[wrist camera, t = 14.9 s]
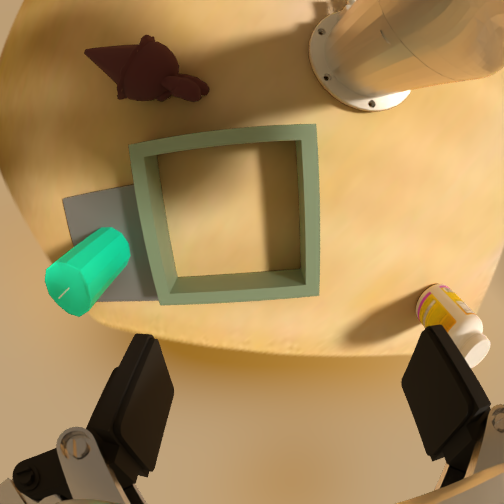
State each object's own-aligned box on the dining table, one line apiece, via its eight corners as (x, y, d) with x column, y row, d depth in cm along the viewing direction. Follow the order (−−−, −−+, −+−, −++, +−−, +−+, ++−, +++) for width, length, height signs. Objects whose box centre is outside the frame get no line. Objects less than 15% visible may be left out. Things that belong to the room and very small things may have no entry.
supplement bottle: (414, 326, 38) (452, 383, 26) (412, 292, 36) (458, 349, 24) (448, 309, 37) (491, 360, 25) (449, 275, 35) (499, 324, 23)
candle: (137, 265, 34) (95, 321, 23) (100, 274, 35) (54, 327, 24) (120, 220, 32) (66, 263, 21) (83, 233, 32) (27, 275, 21)
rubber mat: (64, 198, 31) (62, 199, 31) (136, 184, 31) (135, 184, 30) (92, 300, 37) (91, 301, 36) (160, 298, 36) (159, 300, 36)
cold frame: (142, 143, 29) (128, 145, 25) (308, 125, 28) (316, 124, 24) (168, 288, 36) (160, 305, 32) (312, 278, 35) (319, 295, 31)
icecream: (56, 86, 20) (179, 136, 24) (79, 19, 16) (216, 63, 20) (90, 77, 26) (196, 120, 30) (112, 22, 21) (227, 63, 25)
